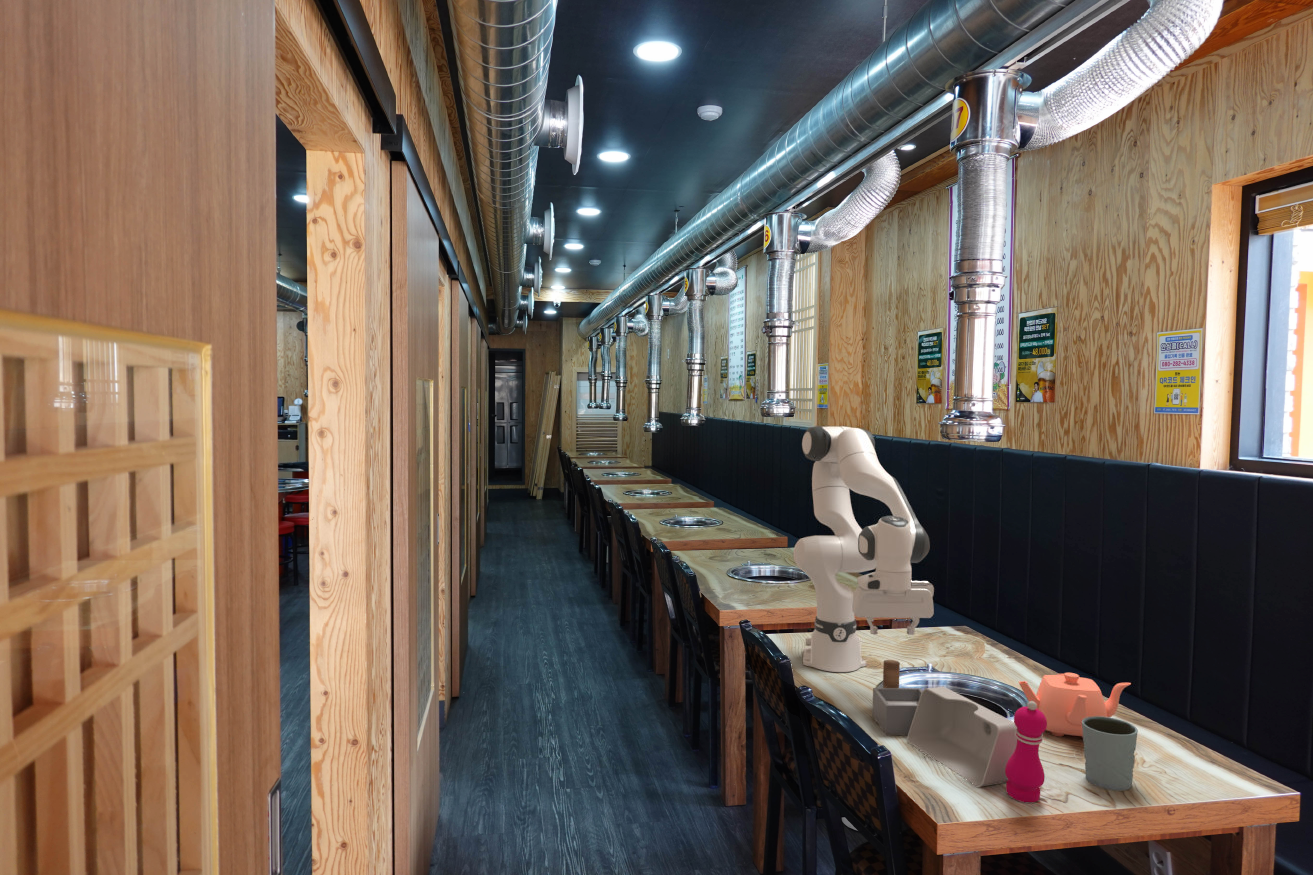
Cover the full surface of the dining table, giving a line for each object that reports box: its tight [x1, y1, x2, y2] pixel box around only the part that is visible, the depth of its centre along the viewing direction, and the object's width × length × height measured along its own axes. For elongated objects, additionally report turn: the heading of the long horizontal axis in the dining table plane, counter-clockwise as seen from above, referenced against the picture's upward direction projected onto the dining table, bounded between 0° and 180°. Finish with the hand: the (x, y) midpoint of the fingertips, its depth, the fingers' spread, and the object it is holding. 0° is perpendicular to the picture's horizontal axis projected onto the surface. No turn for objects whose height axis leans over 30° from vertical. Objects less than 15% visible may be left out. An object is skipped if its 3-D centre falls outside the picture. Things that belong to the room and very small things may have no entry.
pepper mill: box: [1005, 701, 1047, 804], centre depth 164 cm, size 7×7×20 cm
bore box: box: [871, 687, 924, 736], centre depth 201 cm, size 12×12×7 cm
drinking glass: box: [1082, 716, 1138, 792], centre depth 172 cm, size 10×10×12 cm
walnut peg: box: [882, 659, 900, 688], centre depth 212 cm, size 4×4×12 cm
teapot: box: [1018, 672, 1132, 739], centre depth 198 cm, size 18×18×14 cm
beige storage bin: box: [907, 686, 1017, 788], centre depth 182 cm, size 25×16×12 cm, turn 19°
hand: (892, 634), depth 211 cm, fingers open, 8 cm apart
